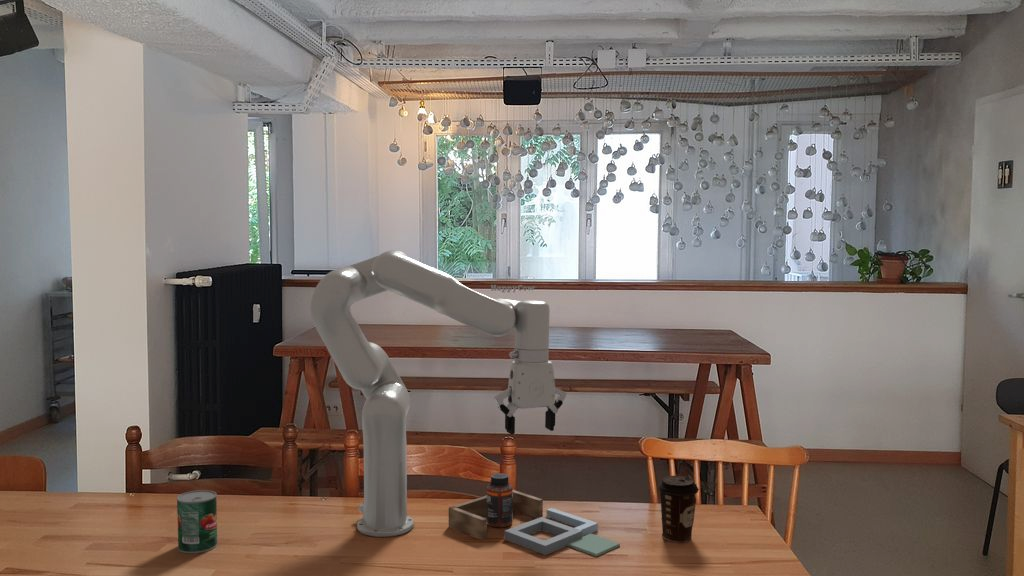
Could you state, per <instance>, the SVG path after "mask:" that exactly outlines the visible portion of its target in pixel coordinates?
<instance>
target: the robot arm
mask: <svg viewBox="0 0 1024 576" xmlns="http://www.w3.org/2000/svg"><path fill="white" fill-rule="evenodd" d="M387 291H388V292H391V293H394V294H397V295H398V296H400V297H401V296H402V297H403V298H406V299H407V300H411V301H413V302H415V303H418V304H419V305H422V306H424V307H427V308H429V309H431V310H433V311H435V312H437V313H439V314H442V315H444V316H446V317H449V318H451V319H453V320H455V321H457V322H458V323H461V324H462V325H465V326H467V327H470V328H471V329H473V330H474V329H475V330H477V331H479V332H482V333H484V334H486V335H489V336H492V337H504V336H506V335H508V334H509V333H510V332H511V331H514V332H515V333H514V334H515V337H514V338H515V339H514V340H515V341H514V343H515V345H514V348H513V351H509V354H508V355H509V357H510V358H511V359H512V358H513V360H514V361H512V362H511V366H510V371H509V376H508V385H507V388H506V389H505V390H503V391H501V392H499V393H498V394H496V395H495V396H494V397H493V400H494V401H495V403H496V405H497V408H498V409H499V410H500V411H501V412H502V413H503V415H504V428H505V431H506V432H507V434H510V435H514V434H515V433H516V417H515V416H514V414H515V413H516V412H517V410H518V409H519V410H520V409H523V410H524V409H536V408H546V409H547V410H546V411H545V413H544V414H545V416H544V417H545V419H544V421H545V422H544V423H545V424H544V428H545V429H547V430H549V431H551V432H553V431H554V430H555V426H556V414H557V413H558V412H559V411H558V410H559V409H560V408H561V407H562V405H563V402H564V400H565V399H566V397H567V392H566V391H564V390H562V389H560V388H558V387H556V382H555V372H554V365H553V362H552V361H550V360H549V354H550V351H549V349H550V305H549V304H548V303H547V302H546V301H543V300H537V299H534V300H532V299H529V300H528V299H527V300H515V299H513V300H512V299H506V298H499V297H498V298H492V297H489V296H487V295H484V294H482V293H479V292H477V291H476V290H473V289H471V288H469V287H467V286H466V285H464V284H462V283H461V282H459V280H457V279H456V278H455V277H453V276H452V275H451V274H449V273H446V272H444V271H442V270H439V269H438V268H435V267H432V266H429V265H427V264H424V263H422V262H420V261H418V260H416V259H414V258H411V257H409V256H408V255H407V254H406V253H404V252H403V251H400V250H398V249H397V250H396V249H395V250H394V249H393V250H392V249H391V250H387V251H384V252H382V253H380V254H379V255H376V256H373V257H371V258H368V259H365V260H362V261H359V262H356V263H353V264H350V265H346V266H344V267H341V268H337V269H334V270H331V271H329V272H328V273H326V275H324V276H323V277H322V278H321V279H320V281H319V282H318V283H317V285H316V287H315V288H314V290H313V292H312V295H311V299H310V304H309V305H310V306H309V307H310V309H309V310H310V316H311V319H312V320H311V321H312V323H313V325H314V327H315V330H316V332H317V333H318V335H319V336H320V339H321V340H322V341H323V343H324V345H325V347H326V350H327V351H328V353H329V355H330V356H331V358H332V361H333V362H334V364H335V365H336V367H337V369H338V371H339V373H340V374H341V377H342V378H343V380H344V381H345V383H346V384H347V385H348V386H349V387H351V388H352V389H354V390H360V391H361V393H362V394H363V397H365V399H366V400H365V401H364V405H363V407H362V410H361V425H362V427H361V428H362V438H363V443H362V444H363V501H362V504H359V505H358V506H357V510H358V511H360V512H362V518H360V519H359V520H358V521H357V525H356V526H357V530H358V531H359V532H360V533H361V534H363V535H364V536H365V535H366V536H369V537H378V538H383V537H387V538H388V537H395V536H399V535H400V536H401V535H403V534H406V533H408V532H410V531H411V530H412V529H413V527H414V525H415V524H414V523H415V521H414V519H413V517H411V516H409V515H408V512H407V511H408V510H407V509H408V503H407V502H408V495H407V494H408V493H407V492H408V491H407V488H408V487H407V486H408V484H407V483H408V479H407V477H408V475H407V473H408V471H407V469H408V468H407V465H408V464H407V461H408V460H407V425H406V424H407V415H408V412H409V409H410V407H411V396H410V394H409V392H408V389H407V387H406V385H405V383H404V382H403V380H402V378H401V376H400V375H399V373H398V371H397V369H396V368H395V366H394V364H393V362H392V361H391V358H390V357H389V356H388V354H387V353H386V351H385V350H384V349H383V348H382V347H381V346H380V345H378V344H376V343H375V342H370V341H368V340H367V338H366V336H365V334H364V332H363V331H362V329H361V327H360V325H359V324H358V322H357V321H356V319H355V318H354V317H353V314H352V312H351V306H352V305H354V304H355V303H356V302H359V301H362V300H365V299H367V298H371V297H373V296H376V295H379V294H382V293H385V292H387ZM556 395H557V397H556ZM506 398H507V402H508V404H507V405H505V404H504V400H505V399H506Z"/></svg>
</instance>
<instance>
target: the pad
mask: <svg viewBox="0 0 1024 576" xmlns="http://www.w3.org/2000/svg"><path fill="white" fill-rule="evenodd" d="M566 547H568V548H572V549H574V550H577V551H580V552H582V553H586V554H588V555H591V556H594V557H596V558H597V557H599V556H601V555H603V554H606V553H608V552H610V551H613V550H614V549H617V548H619V547H621V543H620V542H617V541H615V540H611V539H609V538H606V537H603V536H599V535H597V534H594V533H591V534H588V535H586V536H584V537H581V538H579V539H576V540H574V541H572V542H569V543H567V546H566Z"/></svg>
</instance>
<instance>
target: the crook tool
mask: <svg viewBox="0 0 1024 576" xmlns="http://www.w3.org/2000/svg"><path fill="white" fill-rule="evenodd" d="M545 515H546V517H547V518H548V517H549V518H548V519H551V518H552V520H554V519H555V520H554V521H557V520H558V521H557V522H560V521H561V522H560V523H563V522H564V523H563V524H566V523H567V524H566V525H569V524H570V526H571V527H574V528H575V529H578V530H581V531H582V537H584V536H586V535H588V534H594V533H596V532H598V531H599V523H598V522H596V521H593V520H590V519H587V518H584V517H580V516H578V515H575V514H571V513H568V512H566V511H562V510H561V509H560V510H559V509H557V508H554V507H550V508H547V509H546V514H545ZM546 517H545V518H546Z"/></svg>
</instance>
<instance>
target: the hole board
mask: <svg viewBox="0 0 1024 576" xmlns="http://www.w3.org/2000/svg"><path fill="white" fill-rule="evenodd" d="M540 530H541V531H543V530H544V532H546V531H547V532H546V533H549V534H551V535H555V536H552V537H550V538H547V539H545V540H544V539H541V538H539V537H536V536H533V534H535V533H534V532H536V533H538V532H541V531H540ZM503 532H504V539H506V540H505V541H507V540H508V541H507V542H510V541H511V542H510V543H512V542H513V543H512V544H515V543H516V544H515V545H517V544H518V545H517V546H520V545H521V546H520V547H523V546H524V548H525V547H526V548H525V549H528V548H529V550H530V549H531V551H533V550H534V551H533V552H535V553H538V552H539V553H538V554H541V555H544V556H546V555H549V554H551V553H552V554H553V553H554V552H556V551H558V550H561V549H563V548H565V547H568V546H567V543H569V542H572V541H574V540H576V539H579V538H581V537H582V531H581V530H578V529H575V527H573V526H569V525H568V524H565V523H562V522H559V521H556V520H553V519H552V520H551V519H550V518H546V517H544V516H543V517H540V518H534V519H533V520H529V521H527V522H524V523H522V524H519V525H516V526H514V527H510V528H508V529H505V530H504V531H503ZM532 533H533V534H532ZM530 534H531V535H530Z"/></svg>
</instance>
